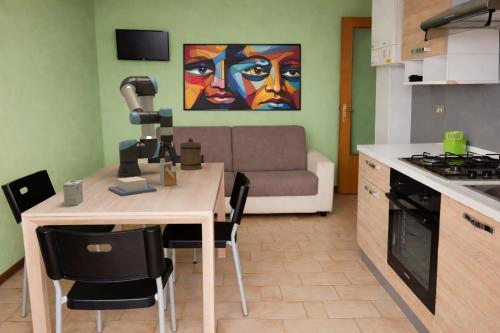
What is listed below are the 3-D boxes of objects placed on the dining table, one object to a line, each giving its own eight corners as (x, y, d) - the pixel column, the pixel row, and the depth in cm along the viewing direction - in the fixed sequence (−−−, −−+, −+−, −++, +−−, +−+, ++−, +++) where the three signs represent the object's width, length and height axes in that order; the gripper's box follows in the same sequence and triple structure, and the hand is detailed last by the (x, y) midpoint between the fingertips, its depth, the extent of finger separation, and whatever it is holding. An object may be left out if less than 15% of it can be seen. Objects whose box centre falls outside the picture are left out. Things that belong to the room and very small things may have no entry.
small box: (164, 186, 278) (163, 164, 276) (160, 184, 284) (159, 162, 281) (177, 184, 283) (176, 163, 281) (172, 183, 288) (171, 161, 286)
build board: (108, 190, 269) (107, 178, 268) (141, 185, 280) (141, 174, 279) (122, 196, 253) (121, 184, 252) (156, 191, 265) (156, 179, 264)
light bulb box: (70, 200, 243) (68, 180, 241) (83, 200, 244) (82, 179, 242) (63, 205, 232) (62, 184, 231) (78, 205, 233) (76, 183, 231)
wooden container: (205, 167, 343) (205, 137, 340) (192, 170, 331) (191, 139, 327) (189, 166, 351) (188, 136, 347) (176, 169, 339) (175, 138, 335)
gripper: (151, 133, 286) (153, 168, 289) (170, 136, 266) (172, 173, 269) (162, 133, 290) (164, 167, 294) (182, 135, 271) (184, 172, 274)
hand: (168, 170), depth 281 cm, fingers open, 13 cm apart
